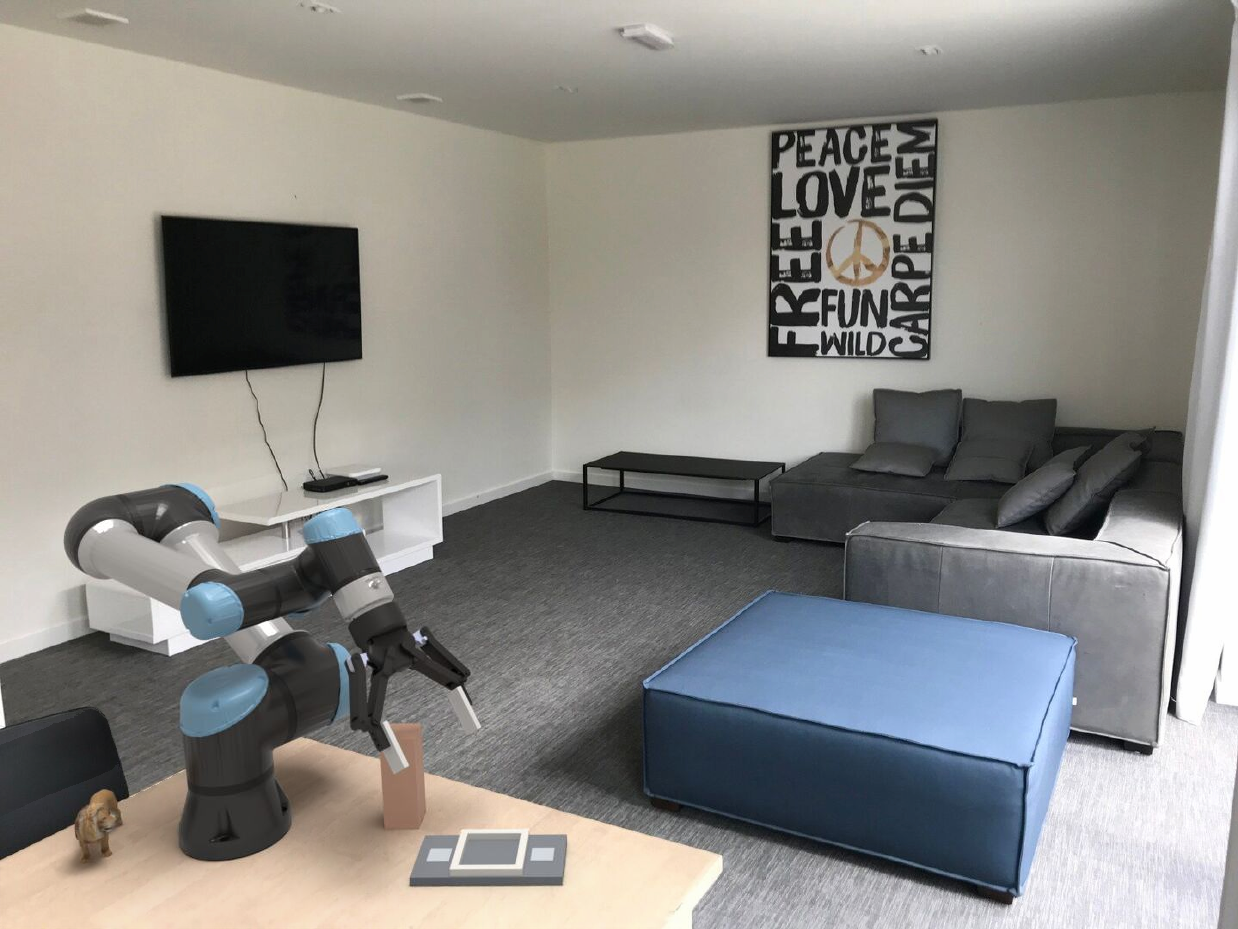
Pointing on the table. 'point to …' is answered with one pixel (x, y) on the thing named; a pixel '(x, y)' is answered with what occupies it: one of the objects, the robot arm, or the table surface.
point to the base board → (490, 859)
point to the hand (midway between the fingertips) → (439, 750)
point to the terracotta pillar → (404, 781)
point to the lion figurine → (97, 823)
